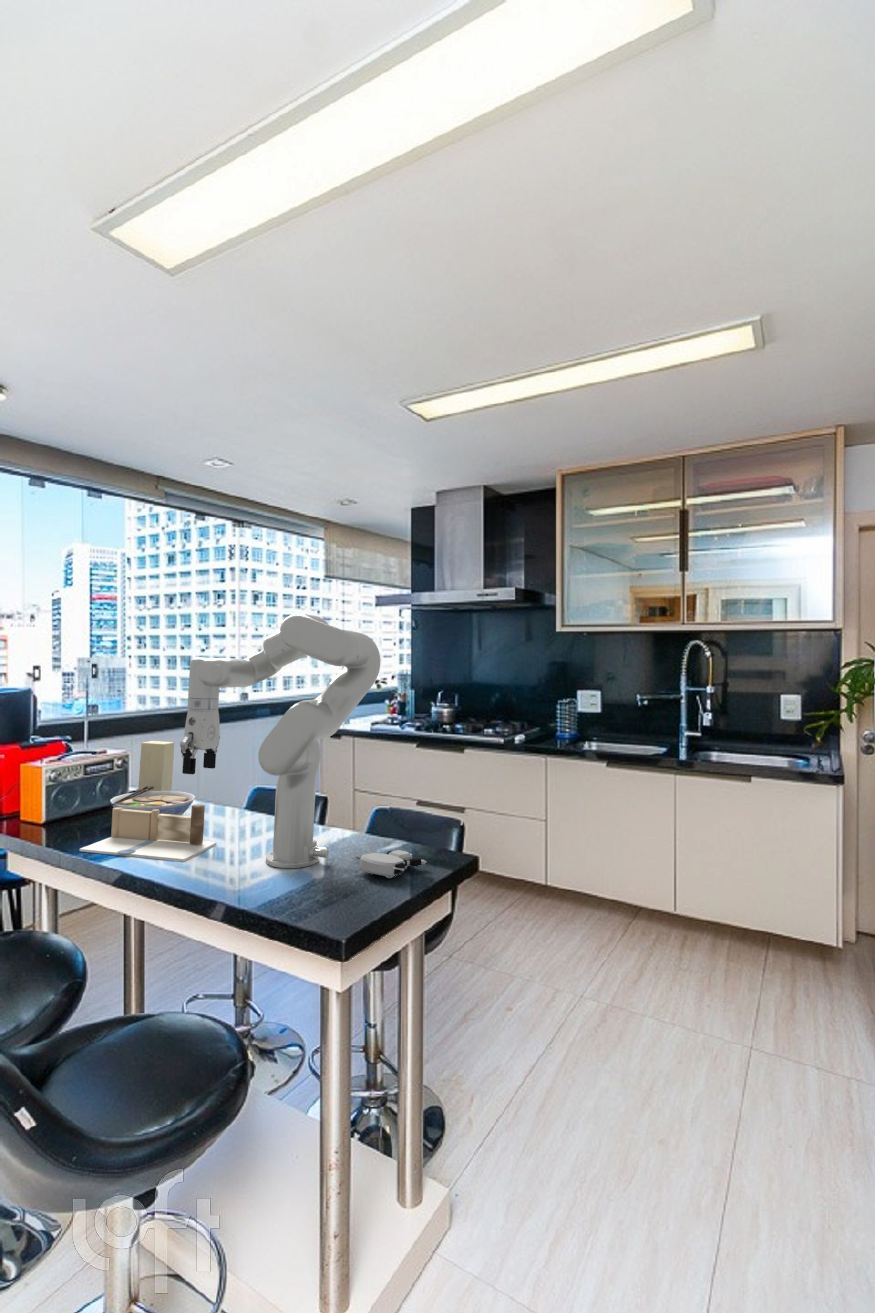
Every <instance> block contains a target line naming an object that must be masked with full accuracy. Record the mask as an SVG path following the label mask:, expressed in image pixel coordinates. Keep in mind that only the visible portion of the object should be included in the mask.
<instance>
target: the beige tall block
mask: <svg viewBox="0 0 875 1313" xmlns="http://www.w3.org/2000/svg"><path fill="white" fill-rule="evenodd" d="M174 755H175V742H173V741H164V740H163V741H162V740H161V741H158V740H150V741H145V742H144V741H143V742H141V746H140V757H139V758H140V761H139V776H138V790H140V789H142V788H144V787H146V786H148V788H150V787H154V789H151V790H149V791H172V789H173V788H172V786H173V770H174ZM138 790H137V791H138ZM145 790H146V789H145Z"/></svg>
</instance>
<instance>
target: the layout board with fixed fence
mask: <svg viewBox="0 0 875 1313" xmlns="http://www.w3.org/2000/svg"><path fill="white" fill-rule="evenodd" d="M111 815H112V817H111V833H110V837H107V838H104V839H102V840H100V841H97V842H94V843H92V844H89V845H85V846H83V847H80V848H79V852H85V853H92V854H93V853H94V854H101V855H102V854H103V855H112V856H113V855H114V856H124V857H135V858H143V859H153V860H163V861H165V860H166V861H175V862H186V861H188V860H190V859H192V858H193V857H196V856H198V855H200V854H201V853H204V852H205V851H207V850H209V849H211V848H213V847H214V846H216V845H217V843H218V842H216V841H209V840H208V841H206V840H203V843H201V844H190V843H188V842H178V841H167V840H157V835H158V818H157V815H159V810H158V809H155V810H152V811H143V810H131V809H123V808H114V807H113V808H112V814H111Z"/></svg>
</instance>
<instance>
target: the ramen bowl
mask: <svg viewBox="0 0 875 1313" xmlns="http://www.w3.org/2000/svg"><path fill="white" fill-rule="evenodd" d="M145 789H146V790H145ZM151 789H154V787H150V788H148V786H146V787H144V788H142V789H140V790H137V791H135V792H131V793H130V792H129V793H124V794H120V795H118V796H116V795H115V796H114V797H112V798H111V799H109V801H110V805H108V806H109V807H113V808H123V809H131V810H143V811H152V810H155V809H158V810H159V814H171V815H183V816H184V814H185V812H186V811H187V810H188V809H189V808H190V807H191V806H192V805H193V802H194V800H195V798H196V796H195V795H194V794H193V793H189V792H184V791H177V790H171V791H149V790H151Z"/></svg>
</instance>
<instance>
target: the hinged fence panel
mask: <svg viewBox="0 0 875 1313" xmlns="http://www.w3.org/2000/svg"><path fill="white" fill-rule="evenodd" d="M205 806H206V805H205V804H203V803H202V804H201V803H200V804H191V813H190V815H184V814H183V815H171V814H159V815H157V818H158V835H157V840H167V841H178V842H188V843H190V844H201V843H203V841H204V831H205V830H204V828H205V827H204V826H205V809H206V808H205Z"/></svg>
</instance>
